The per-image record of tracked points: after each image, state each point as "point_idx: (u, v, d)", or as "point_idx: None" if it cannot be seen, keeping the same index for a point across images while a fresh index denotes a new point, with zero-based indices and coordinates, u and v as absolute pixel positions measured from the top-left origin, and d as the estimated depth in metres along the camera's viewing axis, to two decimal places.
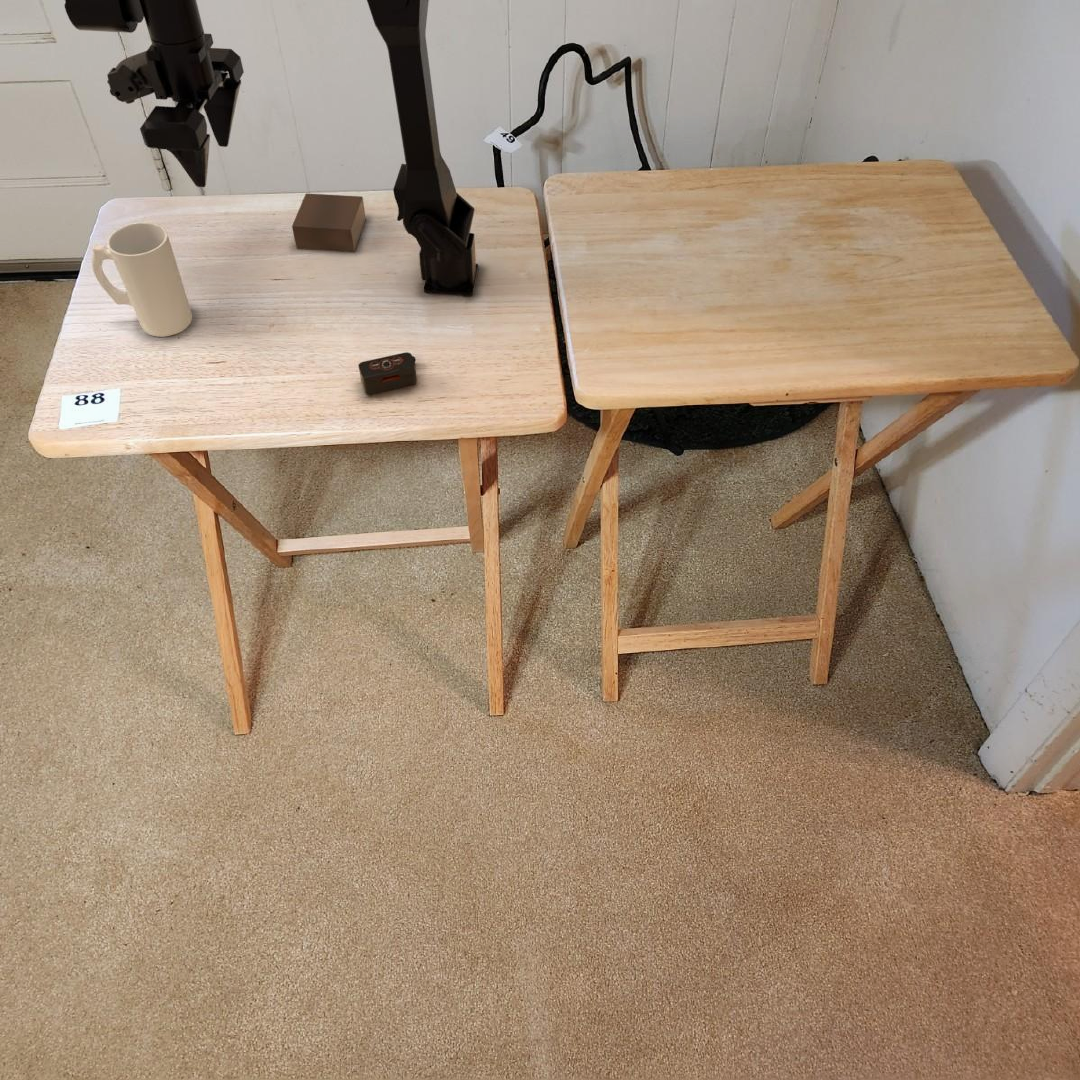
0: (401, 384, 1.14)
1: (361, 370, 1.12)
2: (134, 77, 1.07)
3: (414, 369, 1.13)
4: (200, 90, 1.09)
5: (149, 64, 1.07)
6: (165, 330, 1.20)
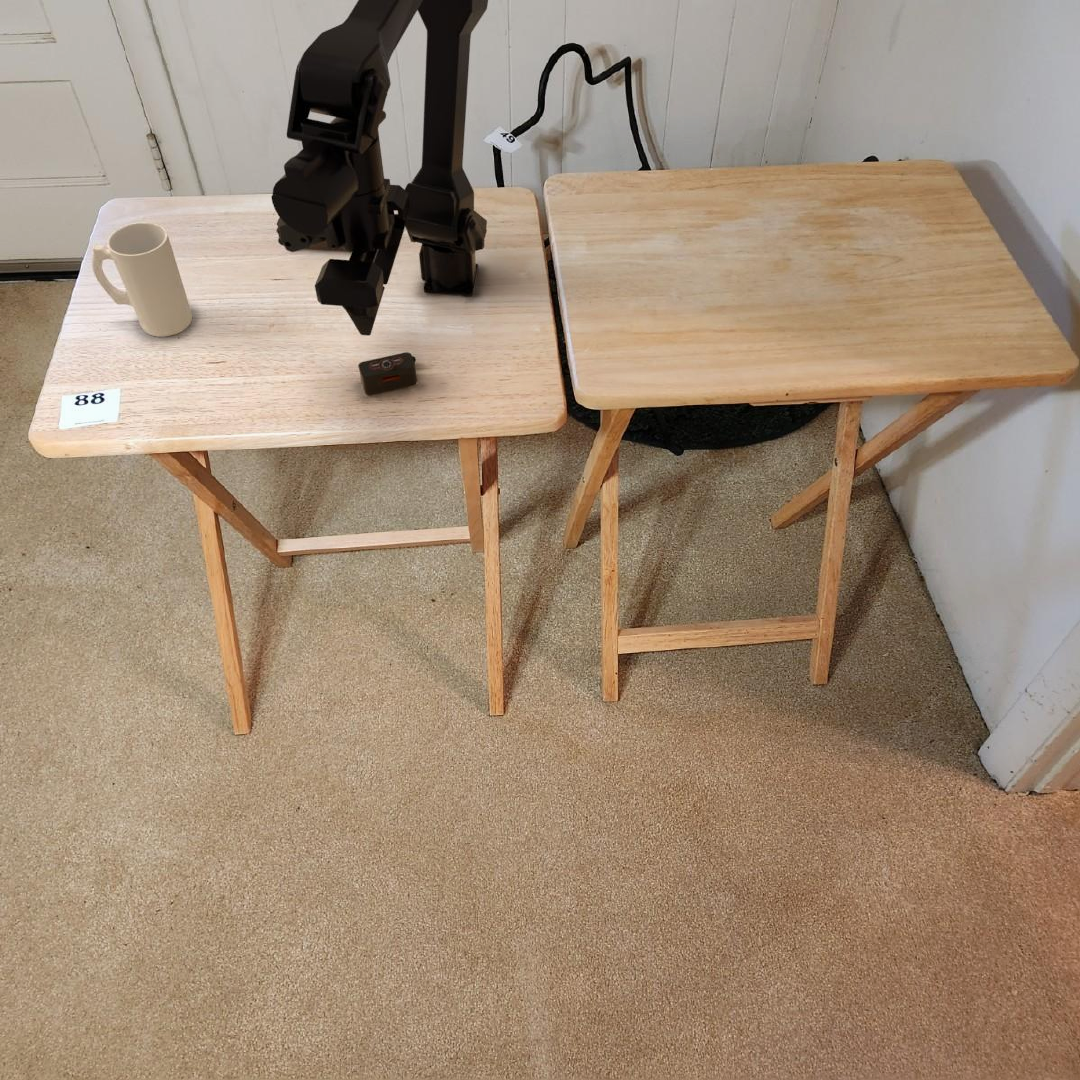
0: (401, 384, 1.14)
1: (361, 370, 1.12)
2: None
3: (414, 369, 1.13)
4: (376, 240, 1.00)
5: None
6: (165, 330, 1.20)
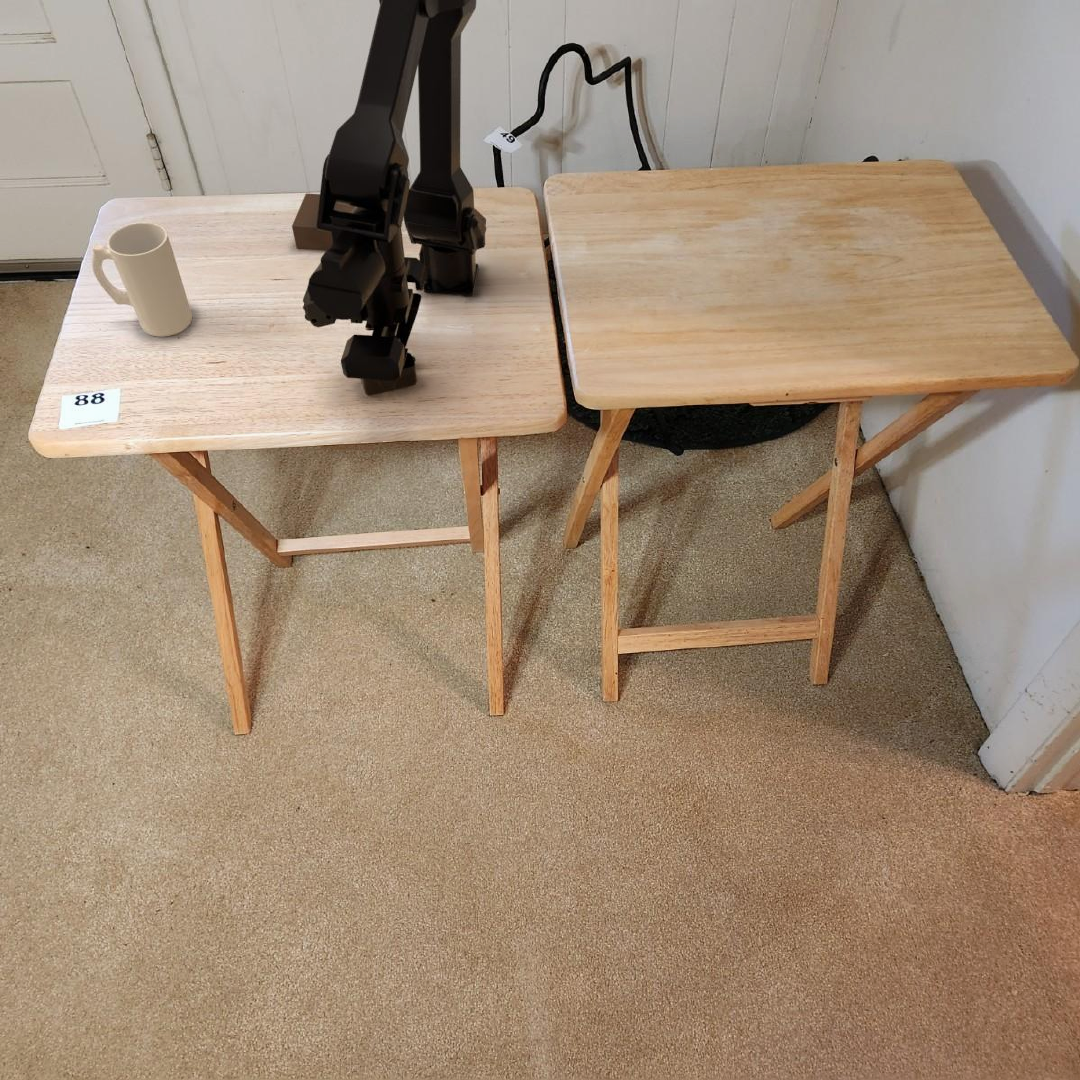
0: (400, 384, 1.14)
1: None
2: None
3: (414, 369, 1.13)
4: (397, 315, 1.06)
5: None
6: (165, 330, 1.20)
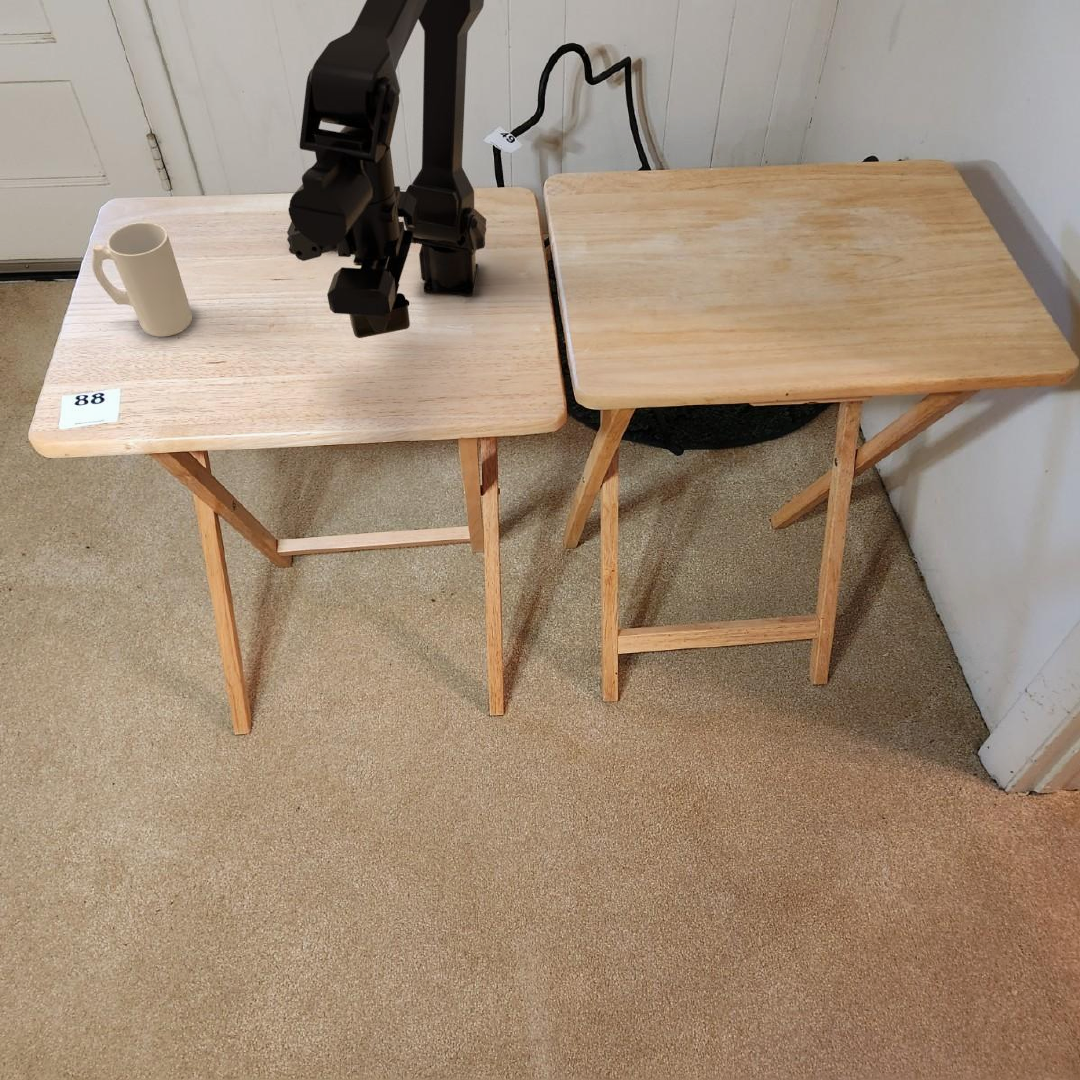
0: (392, 326, 1.08)
1: None
2: None
3: (406, 310, 1.07)
4: (387, 247, 1.00)
5: None
6: (165, 330, 1.20)
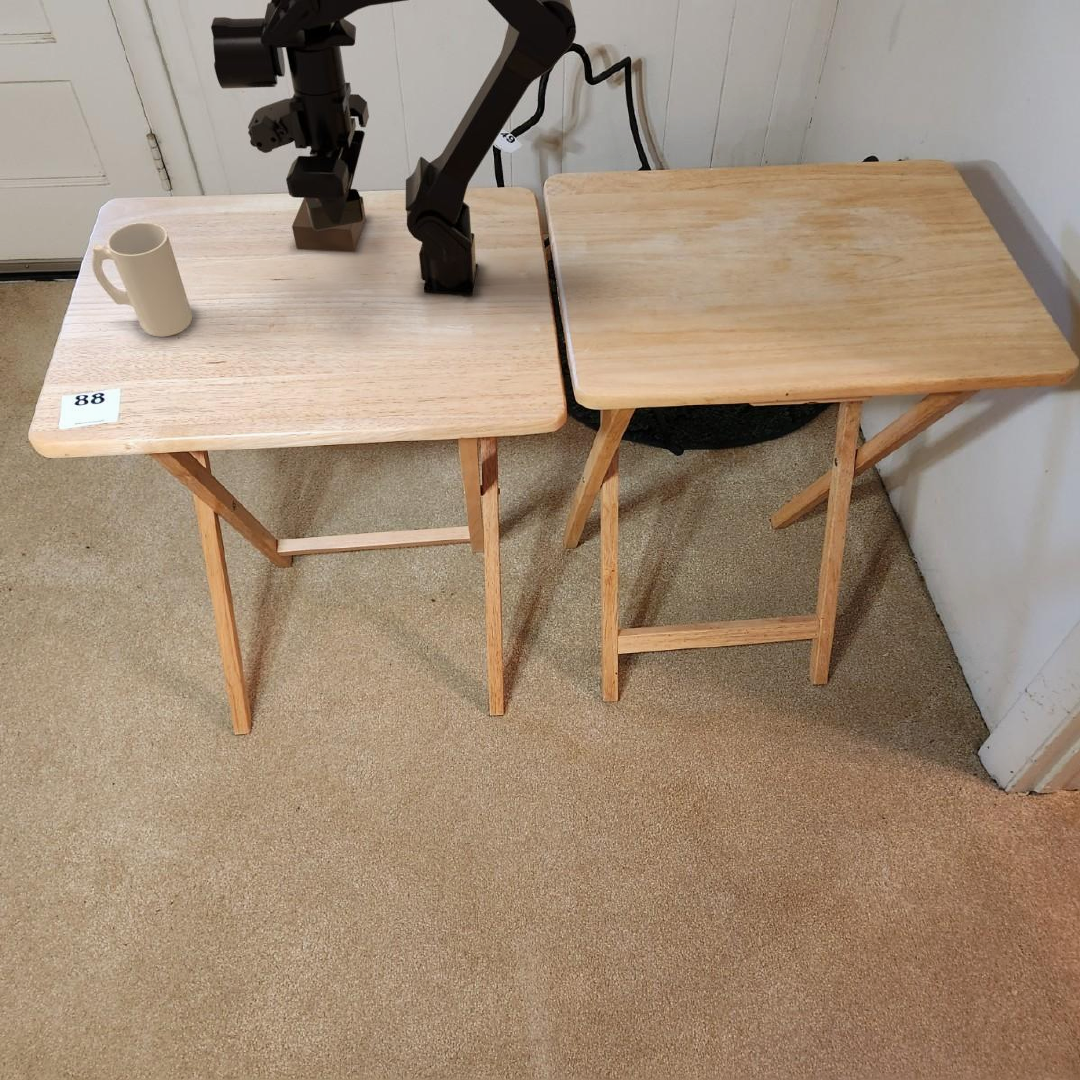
0: (347, 219, 1.18)
1: (308, 203, 1.16)
2: (276, 128, 1.08)
3: (360, 203, 1.17)
4: (340, 138, 1.09)
5: (292, 114, 1.07)
6: (165, 330, 1.20)
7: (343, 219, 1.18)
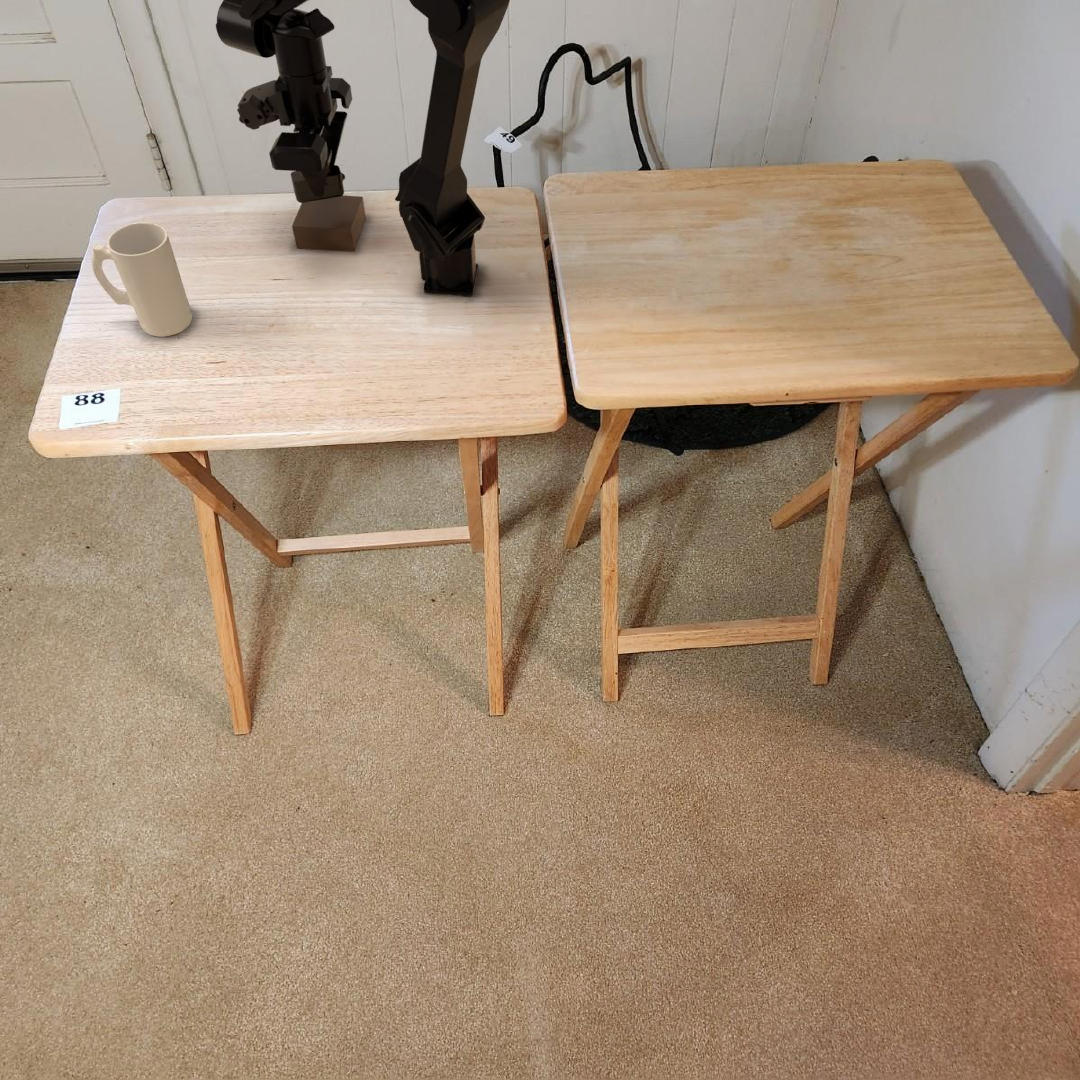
0: (328, 192, 1.28)
1: (292, 177, 1.26)
2: (262, 106, 1.18)
3: (340, 178, 1.27)
4: (321, 117, 1.19)
5: (276, 94, 1.17)
6: (165, 330, 1.20)
7: (325, 193, 1.27)
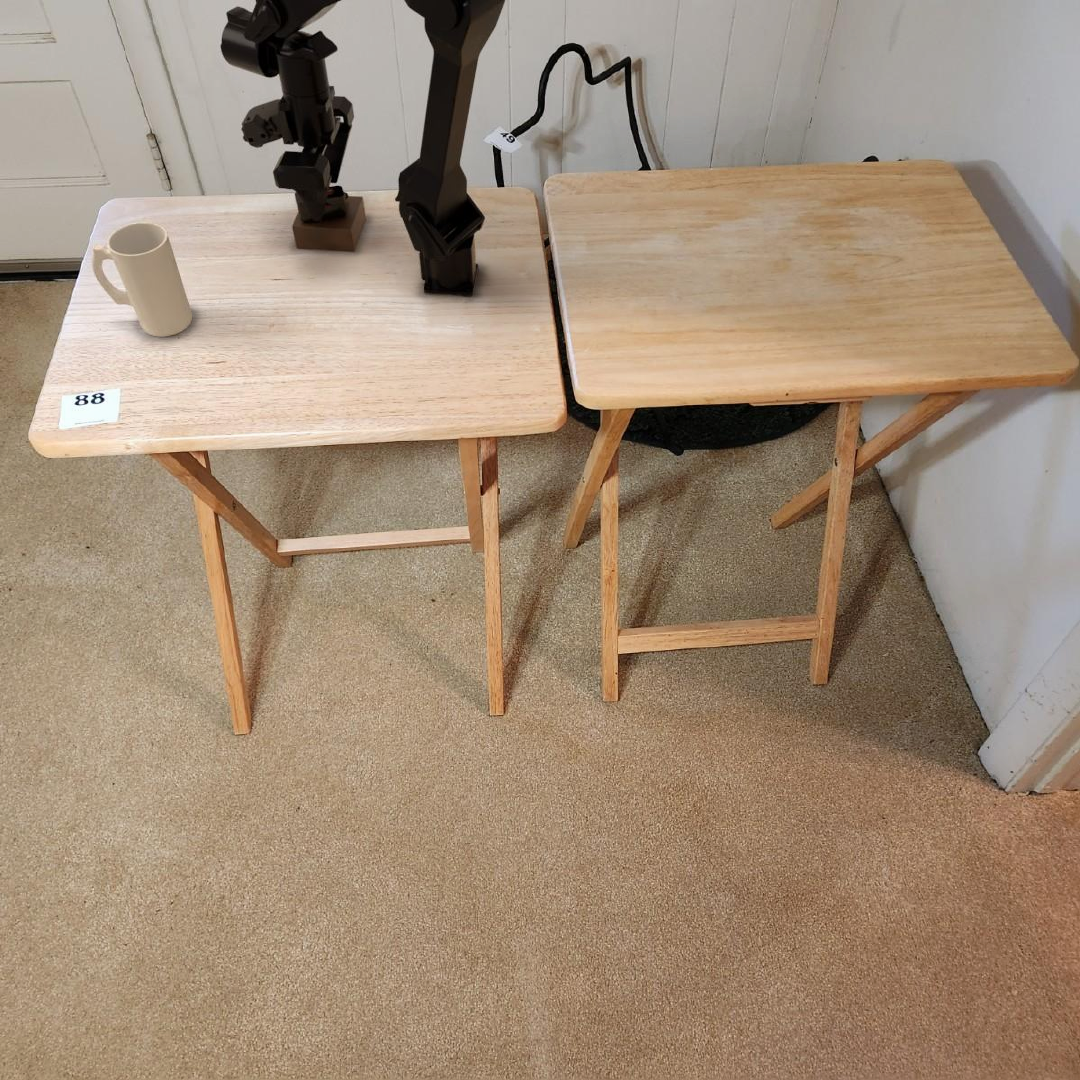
0: (332, 213, 1.30)
1: (296, 197, 1.28)
2: (266, 125, 1.20)
3: (343, 199, 1.29)
4: (323, 136, 1.21)
5: (280, 114, 1.19)
6: (165, 330, 1.20)
7: (328, 213, 1.30)
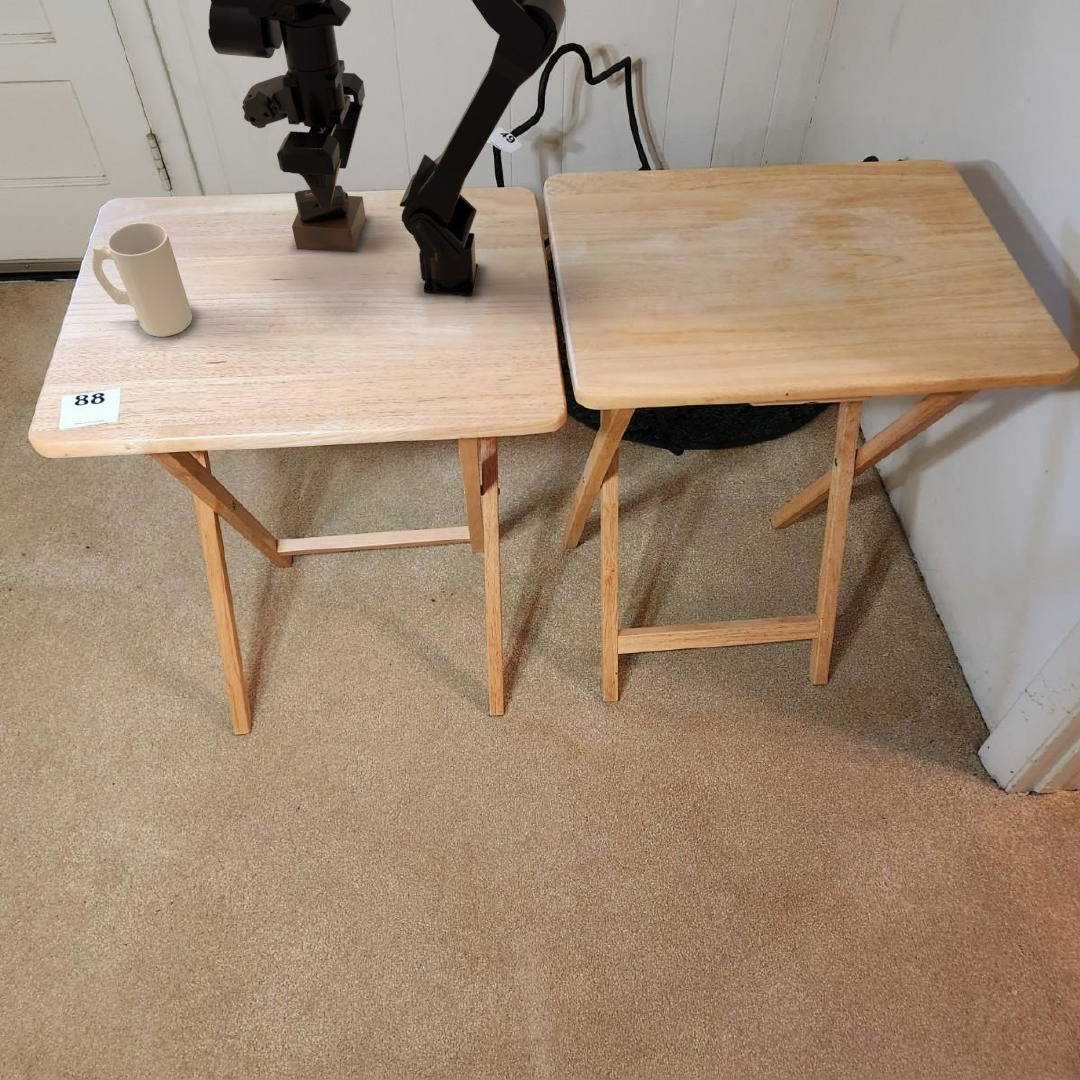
0: (332, 212, 1.30)
1: (296, 197, 1.28)
2: (269, 103, 1.09)
3: (343, 199, 1.29)
4: (332, 115, 1.11)
5: (285, 90, 1.09)
6: (165, 330, 1.20)
7: (328, 213, 1.30)
